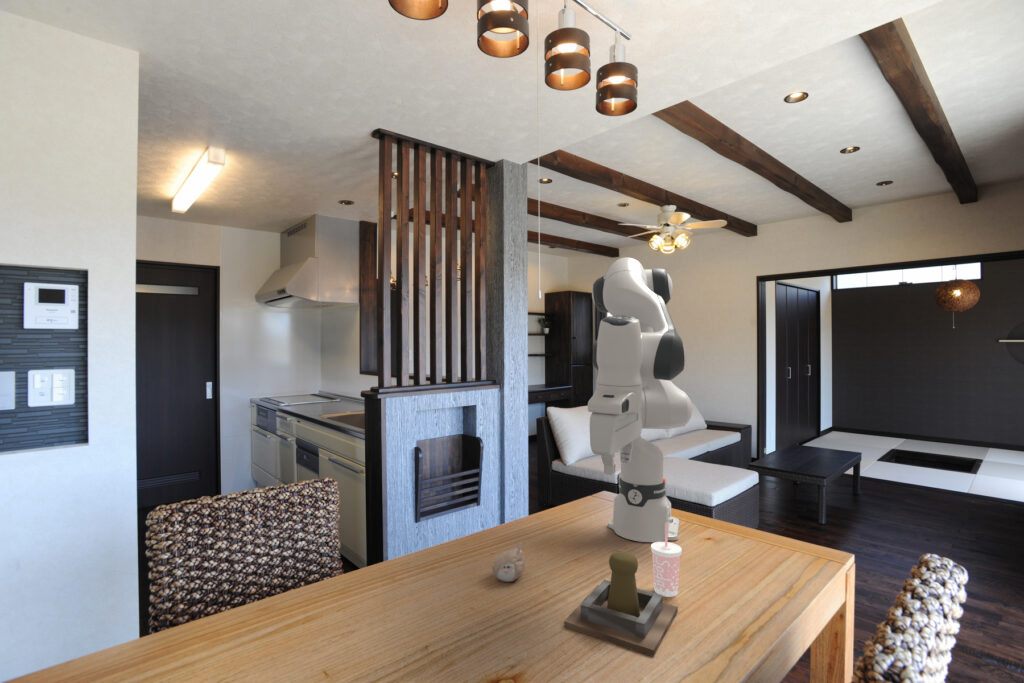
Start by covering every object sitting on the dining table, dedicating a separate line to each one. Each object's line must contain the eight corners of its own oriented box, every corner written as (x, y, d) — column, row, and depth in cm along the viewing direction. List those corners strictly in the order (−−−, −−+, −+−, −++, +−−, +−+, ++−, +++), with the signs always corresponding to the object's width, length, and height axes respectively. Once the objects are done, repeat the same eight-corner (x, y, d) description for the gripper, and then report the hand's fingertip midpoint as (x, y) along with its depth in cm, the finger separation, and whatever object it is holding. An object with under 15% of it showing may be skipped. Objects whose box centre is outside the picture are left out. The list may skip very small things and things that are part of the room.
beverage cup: (644, 588, 104) (644, 520, 104) (664, 581, 107) (664, 515, 107) (667, 601, 98) (668, 530, 99) (688, 593, 102) (688, 524, 102)
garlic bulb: (514, 589, 103) (514, 550, 103) (487, 582, 106) (487, 544, 106) (528, 576, 109) (528, 539, 109) (502, 570, 112) (502, 534, 112)
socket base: (597, 589, 103) (598, 572, 103) (677, 612, 95) (677, 593, 95) (564, 626, 89) (564, 606, 89) (653, 656, 81) (653, 634, 81)
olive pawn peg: (641, 624, 88) (641, 562, 88) (606, 620, 90) (606, 559, 90) (638, 607, 94) (639, 548, 94) (606, 603, 95) (606, 545, 96)
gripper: (620, 390, 109) (619, 453, 110) (583, 404, 92) (583, 478, 92) (649, 393, 106) (648, 458, 106) (617, 407, 88) (616, 484, 89)
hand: (617, 467), depth 99 cm, fingers open, 8 cm apart
